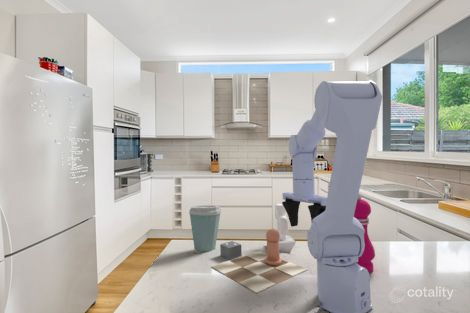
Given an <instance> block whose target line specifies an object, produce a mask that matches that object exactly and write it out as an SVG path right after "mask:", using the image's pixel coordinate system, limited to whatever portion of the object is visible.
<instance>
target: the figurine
mask: <svg viewBox="0 0 470 313" xmlns="http://www.w3.org/2000/svg"><path fill="white" fill-rule="evenodd" d="M274 217H275V219H276V226H277V229H276V230H277V231H278V232H279V234H280V238H279V252H282V253H291V252H292V250H293V248H294V247H295V245H296V243H297V242H296V240H295V239H294V237H292V236H291V235H289V221H288V220H289V219H288V217H287V212H286V210H285V208H284V206H283V205H282V203H276V204H274Z"/></svg>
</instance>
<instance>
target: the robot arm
mask: <svg viewBox="0 0 470 313" xmlns="http://www.w3.org/2000/svg"><path fill="white" fill-rule="evenodd" d="M313 99H314V100H313V102H314V103H313V104H314V108H315V109H314V110H315V111H314V112H313V115H312V116H311V119H308V120H306V121H305V122H304V123H303V124H302V126H301V127H300V129H299V131H298V132H297V133H296V134H291V135H290V136H289V141H288V151H289V156H290V157H291V162H292V163H291V164H292V167H291V168H292V192H282V200H283V201H281V204H282V205H283V206H284V208H285V210H286V215H287V218H288V220H289V221H288V222H289V223H290V227H292V228H293V227H297V226H298V225H299V210H300V206H301V203H307V204H310V205H307V208H308V211H309V214H310V219H311V222H310V223H311V225H310V227H309V230H307V234H306V235H307V236H306V242H307V247H308V250H309V253H310V255H311V256H312V257H313V258H314V259H315V260H316V275H317V276H316V277H317V278H316V280H317V298H318V300H319V301H320V303H319V304H317V306H318V307H319V308H321V309H323V310H326V311H327V312H330V313H367V312H369V311H370V310H371V309H372V308H373V304H372V301H371V300H372V299H371V298H372V297H371V276H370V273H369V272H368V270H367V269H365V268H364V267H361V266H360V265H358V264H357V263H356V262H358V257H360V256H361V255H362V254H363V251H364V247H365V243H364V233H365V230H364V228H363V226H362V224H361V223H360V222H359V221H358V220H357V219H356V218H355V217H354V212H355V208H356V203H357V199H358V194H360V189H361V188H360V187H361V184H362V179H363V175H364V170H365V166H366V165H365V164H366V161H367V156H368V151H369V146H370V144H371V143H370V142H371V137H372V133H373V132H372V131H374V130H375V129H376V128H377V122H378V119H379V113H380V110H381V105H382V100H383V95H382V92H381V91H380V88H379V86H378V85H377V83H376V82H374V81H373V80H366V81H328V80H322V81H321V82H320V83H319V84H318V86H317V87H316V89H315V92H314V98H313ZM326 130H327V131H329V132H331V133H334V134H335V135H336V143H335V148H334V156H333V160H332V161H333V162H332V166H331V167H332V168H331V173H330V180H329V185H328V186H329V187H328V191H327V196H321V195H318V194H315V190H316V189H315V162H316V159H317V157H316V155H317V150H318V145H319V143H320V142H321V141H322V140H323V139H324V138H325V135H326Z"/></svg>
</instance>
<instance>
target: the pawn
mask: <svg viewBox="0 0 470 313" xmlns="http://www.w3.org/2000/svg"><path fill="white" fill-rule="evenodd" d="M265 238H266V253H267V257H266V259H265V261H266V264H267V265H270V266H278V265H281V264H282V260H283V259H282V258H281V257H280V255H281V254H280V253H281V251H279V238H280V234H279V232H278V231H277V229H275V228H269V229H268V230H267V231H266V233H265Z"/></svg>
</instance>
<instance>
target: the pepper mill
mask: <svg viewBox="0 0 470 313" xmlns="http://www.w3.org/2000/svg"><path fill="white" fill-rule="evenodd" d="M371 213H372V207H371V205H370V203H369V202H368V201H367V200H365V199H362V194H361V193H359V194H358V199H357V203H356V208H355V212H354V217H355V218H356V219H357V220H358V221H359V222H360V223H361V224H362V226H363V228H364V230H365V233H364V243H365V247H364V251H363V254H362V255H361V256H360V257H358V262H356V263H357V264H358V265H360V266H361V267H364V268H365V269H367V270H368V272H369V274H370V273H372V272H374V262H372V261H373V260H374V259H375V257H376V252H375V247H374V245H373V243H372V241H371V239H370V237H369V234H368V233H369V232H368V225H369V224H370V221H369V220H370V217H369V216H370V215H371Z"/></svg>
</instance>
